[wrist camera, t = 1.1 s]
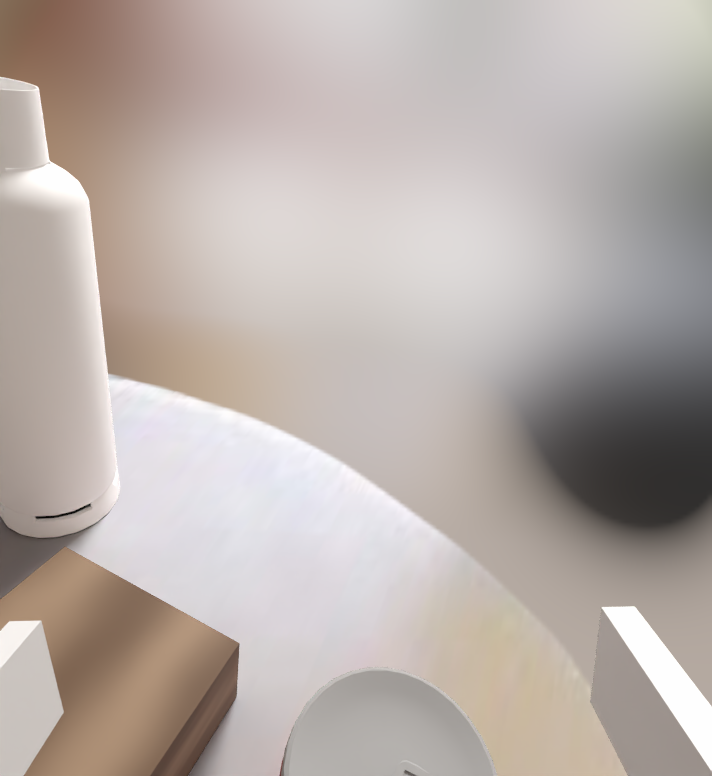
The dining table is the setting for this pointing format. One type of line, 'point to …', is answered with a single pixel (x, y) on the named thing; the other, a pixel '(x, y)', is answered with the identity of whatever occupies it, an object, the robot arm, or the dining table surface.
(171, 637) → the walnut box
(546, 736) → the dining table surface
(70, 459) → the bottle
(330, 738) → the canned food
